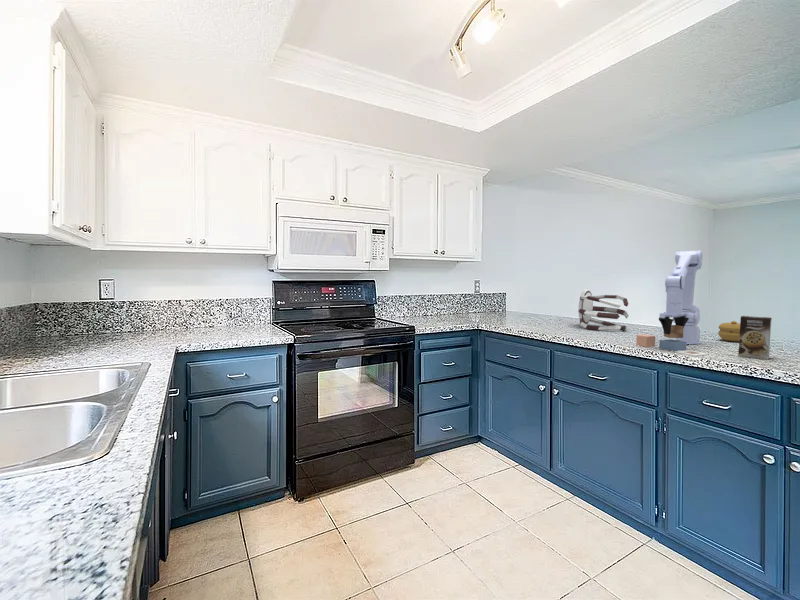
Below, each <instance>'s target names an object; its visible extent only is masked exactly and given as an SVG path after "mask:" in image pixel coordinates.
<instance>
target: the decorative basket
mask: <svg viewBox="0 0 800 600" xmlns="http://www.w3.org/2000/svg"><path fill="white" fill-rule="evenodd" d="M579 296H580V297H579V299H578V300H579V301H578V310H577V312H578V318H579V326H581V327H582V328H584V329H586V330H591V331H598V330H599V332H604V331H606V332H607V331H620V330H623V331H625V330H626V329H627V326H626V325H622V324H617V323H614V322H610V321H609V322H608V321H606V320H603V319H613V320H618V319H619V318H620V316H624V317H625V319H628V317H629V313H628V312H627V311H626V310H624V309H620V307H621V304H620V303H618V302H616V301H615V302H614V301H611V300H608V299H615V300H617V299H618V300H621V301H622V303H623V305H624V306H625V307H628V305H629V302H628V299H627V298H626V297H624V296H621V295H617V294H616V295H613V294H610V295H609V294H603V295H602V294H601V295H593V294H592V291H591V290H590V289H589V288H584V289H583V291H582V292H581V293H580V295H579ZM594 302H597V303H602V304H603V305H608V306H611V307H607V306H599V305H598V306H595V305H594ZM593 317H594V318H593ZM596 318H597V319H596ZM598 318H600V319H598ZM589 323H594V324H598V325H589ZM599 325H602V326H599Z"/></svg>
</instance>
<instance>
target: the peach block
mask: <svg viewBox="0 0 800 600" xmlns="http://www.w3.org/2000/svg"><path fill="white" fill-rule="evenodd" d="M635 342H636V344H635V345H639V346H638V347H641V346H644V347H643V348H652V347H651V346H655V347H656V335H652V334H637V335H636V341H635Z"/></svg>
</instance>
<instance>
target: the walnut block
mask: <svg viewBox="0 0 800 600" xmlns="http://www.w3.org/2000/svg"><path fill="white" fill-rule="evenodd" d="M663 337H666V338H669V339H676V338H683V326H679V325H675V324H672V325H671V331H670V334H664V333H663Z"/></svg>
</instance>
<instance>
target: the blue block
mask: <svg viewBox="0 0 800 600" xmlns="http://www.w3.org/2000/svg"><path fill="white" fill-rule="evenodd" d="M660 348H661V349H660ZM659 349H660V350H665V349H667V350H666V351H671V350H673V351H672V352H677V351H678V350H682V351H687V344H686V341H679V340H676V339H674V338H669V339H659Z"/></svg>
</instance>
